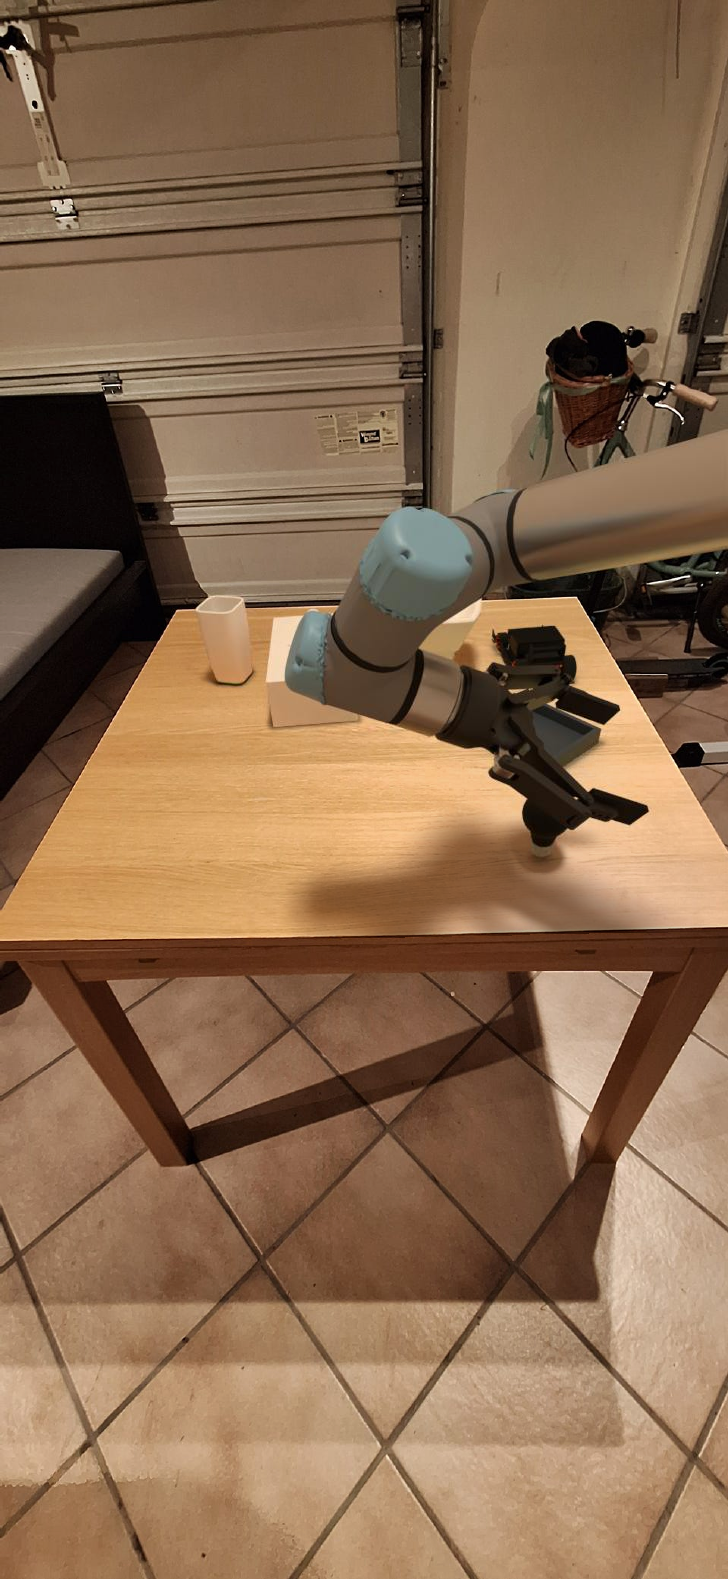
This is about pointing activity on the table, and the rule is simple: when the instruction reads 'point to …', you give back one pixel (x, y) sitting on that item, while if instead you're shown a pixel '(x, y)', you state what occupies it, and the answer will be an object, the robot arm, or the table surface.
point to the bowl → (452, 632)
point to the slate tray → (562, 734)
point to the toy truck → (536, 648)
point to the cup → (226, 637)
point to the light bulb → (541, 828)
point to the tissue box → (282, 700)
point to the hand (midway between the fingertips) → (624, 762)
